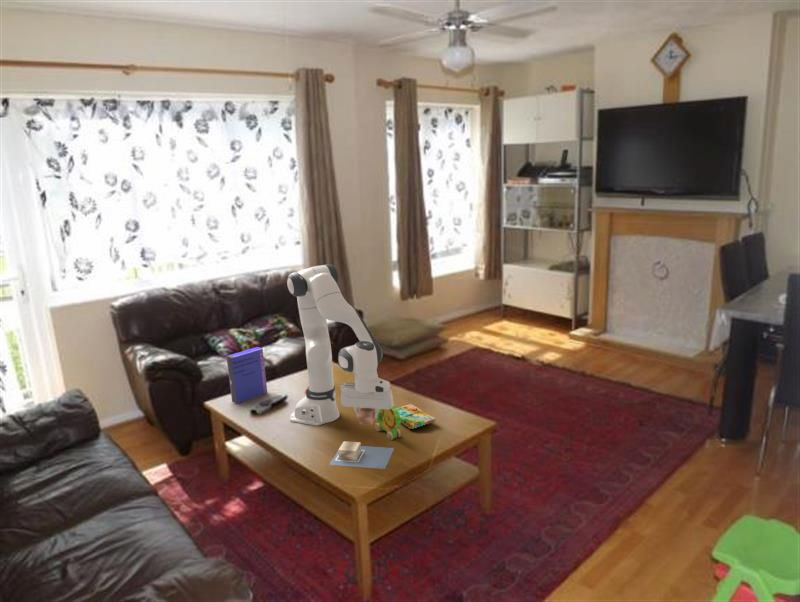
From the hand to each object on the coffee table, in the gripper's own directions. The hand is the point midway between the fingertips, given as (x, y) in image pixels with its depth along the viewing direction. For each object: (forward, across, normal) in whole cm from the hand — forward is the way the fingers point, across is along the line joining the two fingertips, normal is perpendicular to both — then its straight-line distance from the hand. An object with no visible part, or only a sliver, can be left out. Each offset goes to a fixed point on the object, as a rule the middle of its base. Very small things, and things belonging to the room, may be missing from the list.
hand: (367, 417), depth 220 cm
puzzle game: (+16, +12, +32) cm, 38 cm away
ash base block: (+16, -7, -1) cm, 18 cm away
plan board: (+17, -2, -2) cm, 17 cm away
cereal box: (+19, -75, +51) cm, 93 cm away
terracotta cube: (+2, 0, 0) cm, 2 cm away
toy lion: (+16, +4, +18) cm, 25 cm away
